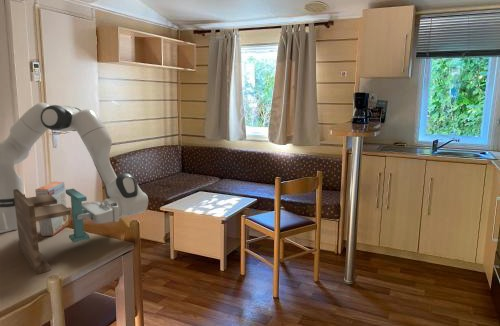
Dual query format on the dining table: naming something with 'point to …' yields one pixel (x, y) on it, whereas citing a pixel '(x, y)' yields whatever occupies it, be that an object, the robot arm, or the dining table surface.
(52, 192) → the cracker box
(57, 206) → the wall shelf
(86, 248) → the dining table surface
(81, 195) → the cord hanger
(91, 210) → the robot arm
